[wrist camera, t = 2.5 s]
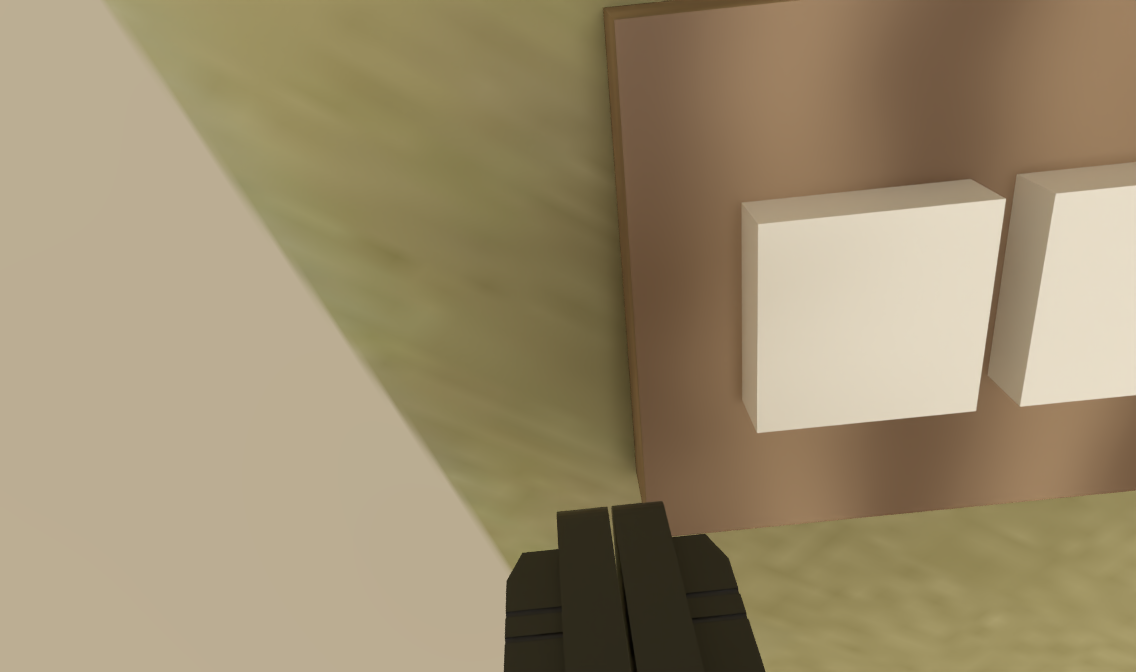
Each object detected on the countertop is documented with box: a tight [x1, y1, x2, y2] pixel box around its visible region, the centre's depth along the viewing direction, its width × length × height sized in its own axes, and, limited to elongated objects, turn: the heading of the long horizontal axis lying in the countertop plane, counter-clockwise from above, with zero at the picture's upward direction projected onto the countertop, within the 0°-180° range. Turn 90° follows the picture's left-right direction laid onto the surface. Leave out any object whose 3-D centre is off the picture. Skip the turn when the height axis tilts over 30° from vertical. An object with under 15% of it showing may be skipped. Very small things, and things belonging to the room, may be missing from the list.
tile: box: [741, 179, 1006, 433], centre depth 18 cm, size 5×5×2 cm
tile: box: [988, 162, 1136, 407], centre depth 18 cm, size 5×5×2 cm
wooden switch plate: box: [603, 0, 1136, 536], centre depth 20 cm, size 14×13×3 cm
